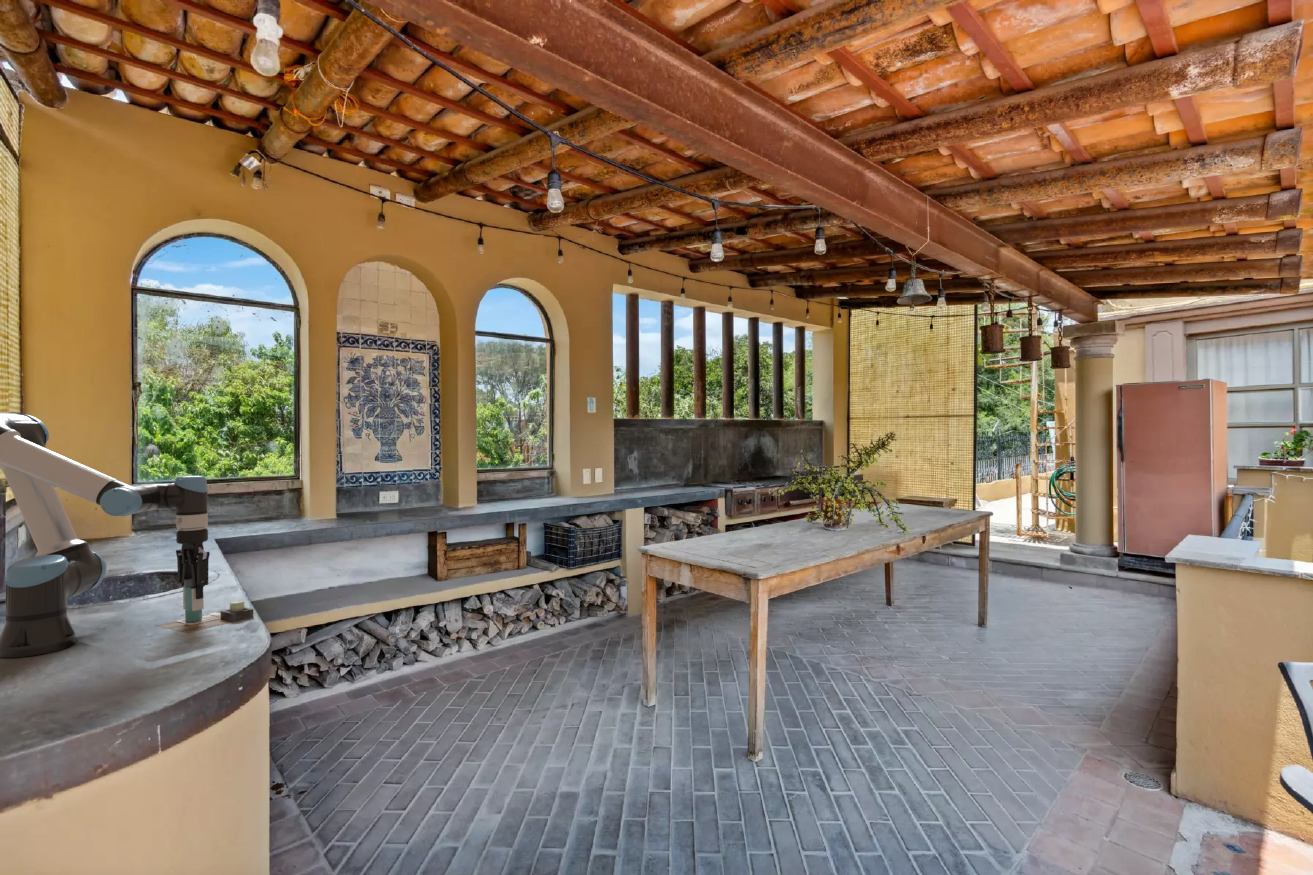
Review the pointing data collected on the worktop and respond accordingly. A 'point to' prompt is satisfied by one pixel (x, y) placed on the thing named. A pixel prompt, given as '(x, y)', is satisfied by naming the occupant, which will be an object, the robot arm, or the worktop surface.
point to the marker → (190, 603)
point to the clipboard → (209, 620)
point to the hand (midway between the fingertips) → (193, 608)
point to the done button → (237, 606)
